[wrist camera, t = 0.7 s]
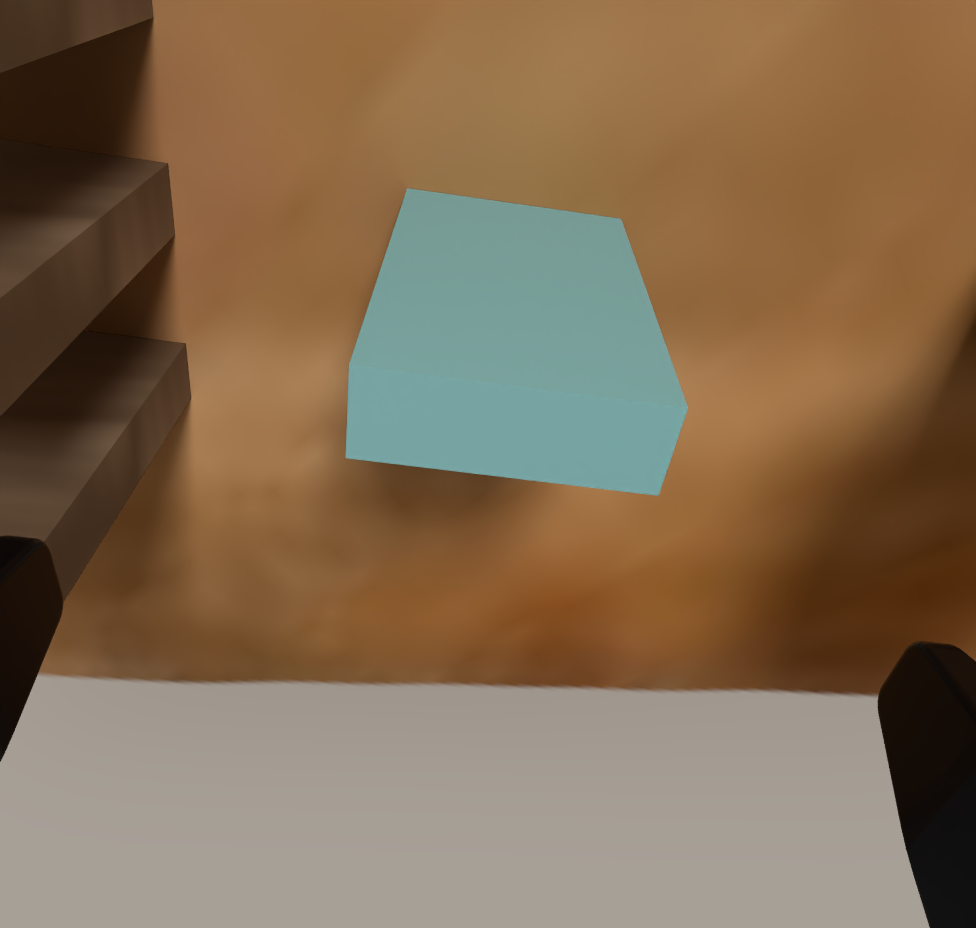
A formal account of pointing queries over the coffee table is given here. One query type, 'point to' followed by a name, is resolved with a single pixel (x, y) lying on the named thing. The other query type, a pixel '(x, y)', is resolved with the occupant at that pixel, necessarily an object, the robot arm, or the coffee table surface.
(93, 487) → the domino
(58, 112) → the coffee table surface
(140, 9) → the domino
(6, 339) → the domino
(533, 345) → the domino
